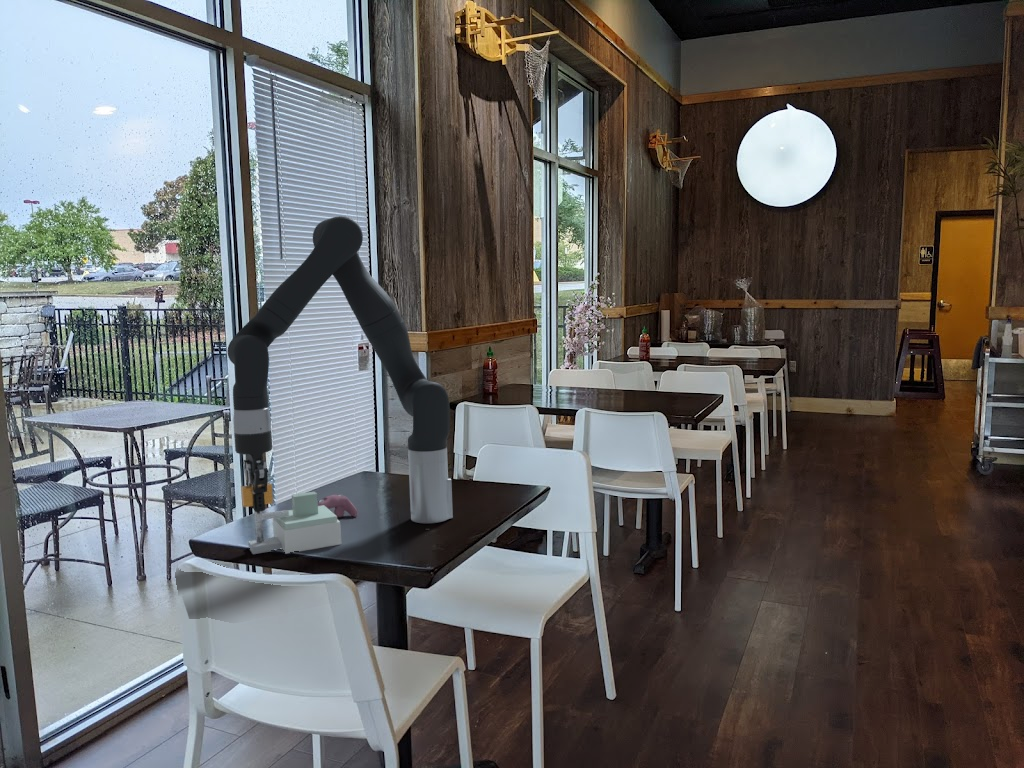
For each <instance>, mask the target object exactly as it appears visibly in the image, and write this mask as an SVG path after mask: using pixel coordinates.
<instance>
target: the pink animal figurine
mask: <svg viewBox="0 0 1024 768" xmlns="http://www.w3.org/2000/svg"><path fill="white" fill-rule="evenodd" d="M322 505H324V506H325V507H327V508H328V509H329V510H330V511H331V512H333V513H334V514H335V515H336V516H337V519H339V518H340V519H341V518H342V517H344V515H345V512H347V514H349V515H350V516H352V517H354V518H356V517H358V509H357V508H356V506H355V505H354V504H353V503H352V501H351V500H350V499H349V497H347V496H345V495H344V494H338V495H337V494H332V495H328V496H325V497H323V498H321V499H320V500H318V506H322ZM333 508H334V510H333V511H332V510H331V509H333Z"/></svg>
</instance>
